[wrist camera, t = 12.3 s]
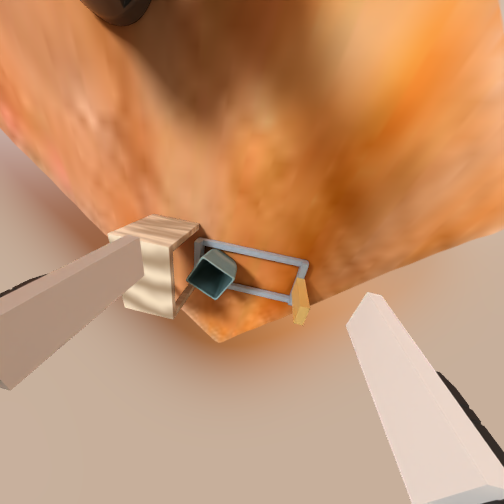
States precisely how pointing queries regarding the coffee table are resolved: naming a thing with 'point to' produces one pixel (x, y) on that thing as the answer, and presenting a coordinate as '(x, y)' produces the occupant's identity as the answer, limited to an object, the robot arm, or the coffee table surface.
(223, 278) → the flower pot
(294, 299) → the frame with square tube
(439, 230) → the coffee table surface
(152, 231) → the shelf
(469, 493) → the robot arm
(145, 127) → the coffee table surface
